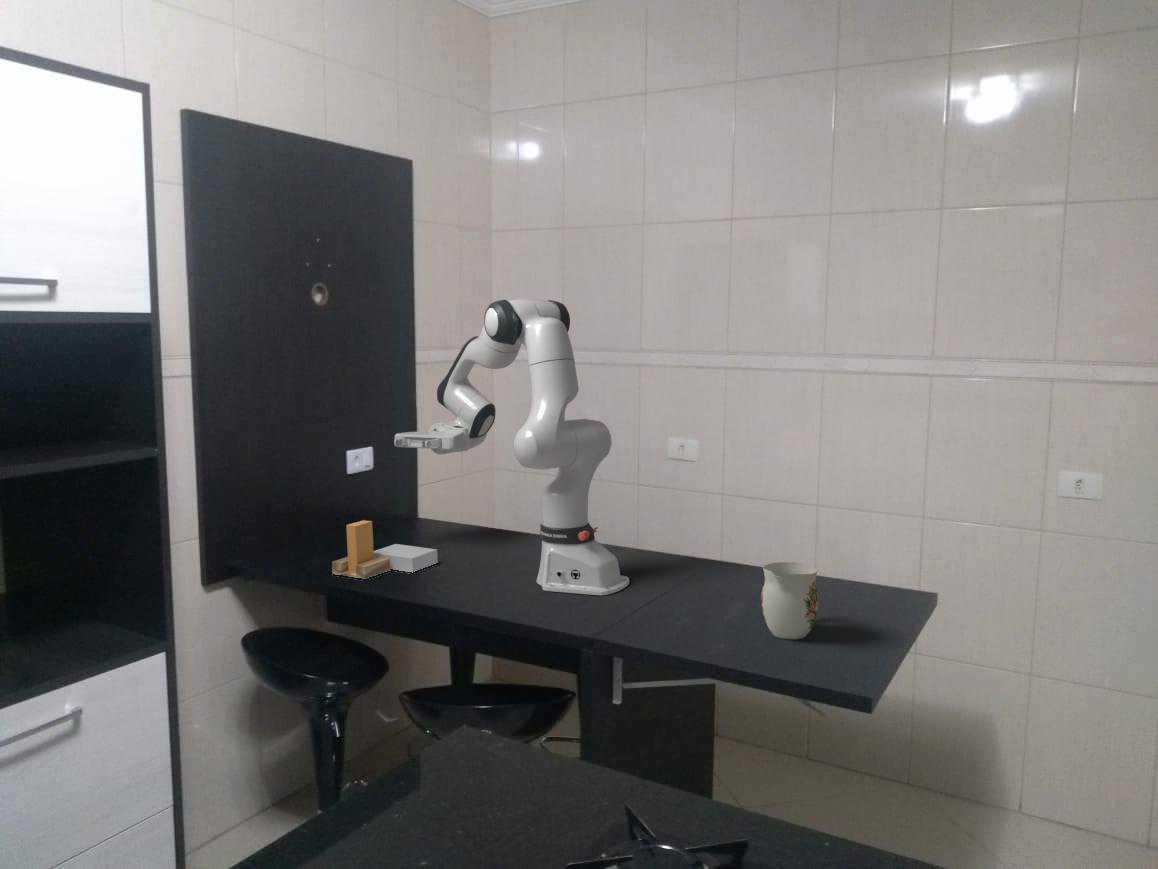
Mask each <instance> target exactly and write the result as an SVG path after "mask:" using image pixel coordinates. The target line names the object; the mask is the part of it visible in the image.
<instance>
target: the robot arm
mask: <svg viewBox="0 0 1158 869" xmlns="http://www.w3.org/2000/svg"><path fill="white" fill-rule="evenodd" d="M483 321H484V322H483V325H482V328H481V330H480V333H479V335H477V336H472V337H471V338H470V339H468V340H467V341H466V343H464V344H463V346H462V348H461V349H460V351H459V353H458V354H457V356H456V358H455V360H454V361H453V364H452V365H451V367H450V369H449V371H448V372H447V374H446V375H445V376H444V378H443V379H442V380H441V382H440V383H439V385H438V386H437V390H436V400H437V402H438V403H439V404H440V405H441V406H442V407H444V408H445V409H446V410H448V411H449V412H451V413H452V414H453V415H454V416H455V417H456V418H455V419H454V420H453V421H451V420H448V421H447V420H446V421H441V422H434V424H432V425H431V426H430V427H429V428H428V430H427V431H407V432H398V433H396V434H395V435H394V442H393V443H394V447H397V448H410V449H411V448H412V449H427V450H428V449H429V450H431V451H432V453H435V454H436V455H441V456H442V455H447V454H452V453H453V454H454V453H456V452H457V453H459V452H467V451H469V450H470V449H473V448H475V447H477V446H479V445H481V444H482V443H483V442H484V441H485V439H486V438H487V436H488V432H489V431H490V430H491V428H492V427H493V425H494V422H495V419H496V406H495V405H494V404H493V402H491V400H489V399H488V398H487V397H486V396H485V395H484V394H482V393H481V392H480V391H479V390H478V389H477V388H476V387H475V386H474V385H473V384H472V383H471V382H470V380H469V378H468V376H469V375H470V373H471V370H472V369H473V367H474V365H475V364H476V365H479V366H481V367H483V368H487V369H490V370H491V369H492V370H499V369H503V368H507V367H509V366H510V365H511V364H512V363H514V361H515V360H516V358H517V356H518V355H519V352H520V350H521V346H522V345H524V346H525V348H526V353H527V354H526V355H527V362H528V370H529V378H530V387H531V388H530V389H531V406H530V410H529V414H528V417H527V419H526V420H525V422H524V424H522V426H521V427H520V429H518V431H517V432H516V434H515V436H514V440H513V446H512V447H513V454H514V456H515V458H516V460H517V462H518V463H519V464H520V465H521V466H522V467H523V468H526V469H533V470H551V469H557V472H556V475H555V477H554V478H553V480H552V481H551V482H550V483H549V484H547V485H546V486H545V487H544V488H543V490H542V493H541V523H540V526H539V527H540V528H539V529H540V531H539V532H540V533H539V534H540V544H541V554H540V555H541V556H540V561H539V569H538V574H537V578H536V583H537V584H538V585H540V586H541V587H542V588H541V589H542V591H544V592H555V593H556V592H557V593H567V594H580V595H592V596H607V595H611V594H614V593H618V592H619V591H621V590H623V589H625V588H626V587H628V586H629V585H630V579H629V576H625V575H621V570H620V566H619V562H618V559H617V556H615V555H614V554H613V553H612V552H610V551H609V550H608V549H607V548H606V547H604V545H602V544H601V543H600V542H598V541H597V539H596V536H595V533H597V532H598V526H597V527H592V525H591V524H590V522H589V517H588V516H589V494H590V493H589V492H590V488H591V484H592V481H593V477H594V475H595V474H596V473H595V472H596V470H597V469H598V467H599V465H600V464H601V463H602V461H603V460H604V459H605V458H607V457H608V455H609V453H610V452H611V448H612V441H613V440H612V435H611V431H610V430H609V428H608V426H607V425H606V424H605V423H604V422H602V421H600V420H594V419H589V418H581V419H567V420H565V416H566V414H565V413H566V408H567V406H568V405H569V404H570V403H572V402H573V400H575V399H576V398H577V395H578V393H579V382H578V375H577V368H576V362H575V355H574V352H573V346H572V343H571V339H570V336H569V331H570V327H571V316H570V313H569V311H568V309H567V307H566V305H565V304H564V303H563V302H559V301H556V300H551V299H549V300H548V299H547V300H542V299H529V298H516V299H509V300H507V299H500V300H497V301H494V302H491V303H490V304H489V305H488V307H487V309H486V310H485V313H484V317H483Z"/></svg>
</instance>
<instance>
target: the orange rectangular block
mask: <svg viewBox="0 0 1158 869" xmlns="http://www.w3.org/2000/svg"><path fill="white" fill-rule="evenodd" d="M345 526H346V527H345V528H346V544H347V546H346V548H347V557H348V569H349V572H352V573H356V565H359V564H362V563H365V562H368V561H371V560H374V551H375V550H374V534H373V532H374V530H373V529H374V528H373V521H372V520H365V519H363V520H360V521H357V522H353V523H349V524H346V525H345Z"/></svg>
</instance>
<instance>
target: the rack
mask: <svg viewBox="0 0 1158 869" xmlns="http://www.w3.org/2000/svg"><path fill="white" fill-rule="evenodd" d="M331 570H332V571H331V572H332V575H333V574H335V575H343V576H348V577H354V578H362V579H367V578H369V577H372V576H376V575H378V574H381V573H384V572H387V571H390V572H391V570H390V558H383V557H379V558H377V559H374V560H371V561H368V562H365V563H362V564H359V565H356V573H352V572H349V569H348V556H345V557H342V558H340V559H337V560H333V561H332V562H331Z"/></svg>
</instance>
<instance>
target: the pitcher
mask: <svg viewBox="0 0 1158 869" xmlns="http://www.w3.org/2000/svg"><path fill="white" fill-rule="evenodd" d="M762 569H763V575H764V583H763V586H762V588H761V595H760V596H761V597H760V600H761V601H760V602H761V609H762V610H761V611H762V615H763V618H764V621H765V624H766V625H767V627H768V630H769V631H770V632H771V634H772V635H773V636H775V637H777V638H779V639H784V640H801V639H804V638H805V637H807V635H808V634H809V633H810V632H811V631H812V628H813V627H814V624H815V622H816V620H817V616H818V612H819V592H818V591H819V590H818V589H817V585H816V580H817V579H816V578H817V574H818V569H817V568H816V567H815V566H814V565H813V566H812V565H810V564H807V563H803V562H802V563H800V562H795V561H794V562H792V561H779V562H771V563H768V564H765V565H764V566H763V567H762Z"/></svg>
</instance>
